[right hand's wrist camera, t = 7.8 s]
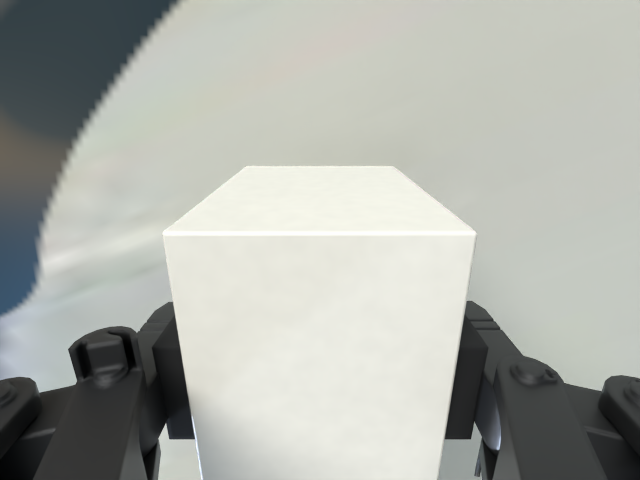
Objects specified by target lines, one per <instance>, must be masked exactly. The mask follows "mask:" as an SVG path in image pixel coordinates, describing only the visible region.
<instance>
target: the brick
mask: <svg viewBox="0 0 640 480" xmlns="http://www.w3.org/2000/svg"><path fill="white" fill-rule="evenodd" d="M162 236H163V242H164V249H165V255H166V261H167V267H168V274H169V280H170V286H171V292H172V299H173V305H174V311H175V317H176V323H177V330H178V336H179V342H180V348H181V355H182V361H183V367H184V373H185V380H186V386H187V392H188V398H189V405H190V411H191V417H192V423H193V429H194V436H195V442H196V448H197V454H198V461H199V467H200V473H201V479H202V480H438V477H439V470H440V464H441V458H442V452H443V445H444V439H445V433H446V427H447V420H448V414H449V408H450V402H451V395H452V389H453V383H454V376H455V370H456V364H457V358H458V351H459V345H460V339H461V333H462V326H463V320H464V314H465V308H466V301H467V295H468V289H469V283H470V276H471V270H472V264H473V258H474V251H475V245H476V239H477V233H476V231H475V230H473V229H472V228H471V227H470V226H468V225H467V224H466V223H465V222H463V221H462V220H461V219H460V218H458V217H457V216H456V215H454V214H453V213H452V212H451V211H449V210H448V209H447V208H446V207H444V206H443V205H442V204H441V203H439V202H438V201H437V200H436V199H434V198H433V197H432V196H430V195H429V194H428V193H427V192H425V191H424V190H423V189H422V188H420V187H419V186H418V185H417V184H415V183H414V182H413V181H412V180H410V179H409V178H408V177H407V176H405V175H404V174H403V173H401V172H400V171H399V170H398V169H396V168H395V167H394V166H246V167H245V168H243V169H242V170H241V171H240V172H238V173H237V174H236V175H234V176H233V177H232V178H231V179H229V180H228V181H227V182H226V183H224V184H223V185H222V186H221V187H219V188H218V189H217V190H215V191H214V192H213V193H212V194H210V195H209V196H208V197H207V198H205V199H204V200H203V201H202V202H200V203H199V204H198V205H196V206H195V207H194V208H193V209H191V210H190V211H189V212H188V213H186V214H185V215H184V216H183V217H181V218H180V219H179V220H177V221H176V222H175V223H174V224H172V225H171V226H170V227H169V228H167V229H166V230H165V231H164V232H163V235H162Z"/></svg>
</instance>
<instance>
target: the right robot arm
mask: <svg viewBox="0 0 640 480" xmlns="http://www.w3.org/2000/svg"><path fill="white" fill-rule="evenodd" d="M68 350H69V354H70V357H71V361H72V364H73V368H74V371H75V374H76V378H77V383H76V385H73V386H69V387H64V388H60V389H55V390H50V391H46V392H41V393H39V391H38V388H37V385H36V382H35V381H33V380H32V379H30V378H25V377H16V378H9V379H4V380H0V480H158V473H159V464H160V456H161V451H160V444H159V440H158V438H159V436H160V434H161V432H162V430H163V428H164V426H165V424H167V429H168V434H169V439H195V436H194V429H193V423H192V417H191V411H190V405H189V398H188V392H187V386H186V380H185V373H184V367H183V361H182V355H181V348H180V342H179V336H178V330H177V323H176V317H175V311H174V305H173V302H168V303H167V304H165V305H163V306H162V307H160V308H159V309H157V310H156V311H155V312H154V313H153V314H152V315H151V317H150V318H149V319H148V320H147V323H145V324H144V325H143V326H142V328H141V329H140V331H138V333H137V334H136V332H135V331H134V330H133V329H131V328H128V327H123V326H117V327H108V328H104V329H99V330H96V331H94V332H91V333H89V334H87V335H84V336H83V337H81V338H80V339H78V340H77V341H75V342H74V343H73V344H72V346H71V347H70V348H69V349H68ZM474 421H475V423H476V425H477V427H478V429H479V431H480V433H481V435H482V440H481V444H480V449H479V454H478V459H477V464H476V469H475V476H477V477H480V472H482V480H640V379H639V378H635V377H629V376H622V375H620V376H611V377H610V378H608V379H607V380H606V381H605V383H604V386H603V389H602V391H597V390H592V389H588V388H583V387H578V386H574V385H570V384H566V383H564V382H563V380H562V379H561V377H560V376H559V375H558V373H557V372H556V371H554V370H553V369H552V368H551V367H549V366H548V365H546V364H544V363H542V362H540V361H538V360H536V359H533V358H529V357H525V356H523V355H522V354H521V353H520V351H519V350H518V349H517V348H516V347H515V345H514V344H513V343H512V342H511V340H510V339H509V338H508V337H507V336H506V334H505V333H504V332H503V331H502V330H500V327H499V326H498V325H497V323H496V322H494V321H493V318H492V317H491V316H490V315H489V314H488V312H487V311H486V310H485V309H484V308H482V307H480V306H479V305H477V304H476V303H474V302H473V301H466V308H465V314H464V320H463V326H462V333H461V339H460V345H459V351H458V358H457V364H456V370H455V376H454V383H453V389H452V395H451V402H450V408H449V414H448V420H447V427H446V433H445V439H471V436H472V431H473V425H474Z"/></svg>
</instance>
